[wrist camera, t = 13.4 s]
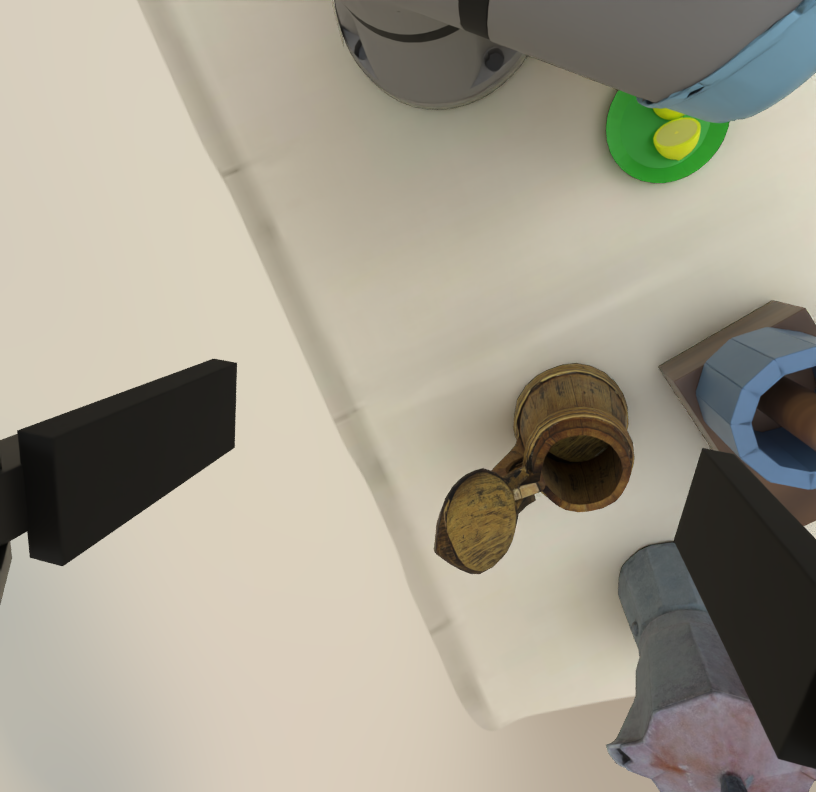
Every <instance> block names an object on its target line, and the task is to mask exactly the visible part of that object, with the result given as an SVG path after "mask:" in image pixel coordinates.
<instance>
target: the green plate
mask: <svg viewBox="0 0 816 792" xmlns="http://www.w3.org/2000/svg"><path fill="white" fill-rule="evenodd" d="M728 127H729V122H726V123H712V122H707V121H704V120H701V119H698V118H695V117H692V116H689V115H686V114H682V113H679V112H676V111H673V110H670V109H667V108H661V109H660V108H647V107H645V106H643V105H641V104H640V103H638V102H637V100H636V96H633V95H631V94H628V93H625V92H623V91H620V90H619V91H618V92H617V93H616V95H615V97H614V99H613V101H612V103H611V106H610V109H609V113H608V116H607V124H606V136H607V143H608V146H609V150H610V153H611V154H612V156H613V158H614V160H615V162H616V163H617V164H618V165H619V166H620V168H621V169H622V170H623V171H625V172H626V173H628V174H629V175H630V176H632V177H634V178H636V179H639V180H641V181H645V182H650V183H666V182H672V181H676V180H679V179H682V178H684V177H687V176H689V175H690V174H692V173H694V172H695V171H697V170H699V169H700V168H701V167H702V166H703V165H704V164H706V163H707V162H708V161H709V160H710V159H711V158H712V156H713V155H714V154H715V153H716V151H717V150H718V149H719V147H720V145H721V143H722V142H723V140H724V138H725V135H726V132H727V129H728Z"/></svg>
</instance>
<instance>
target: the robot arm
mask: <svg viewBox="0 0 816 792" xmlns="http://www.w3.org/2000/svg"><path fill="white" fill-rule="evenodd" d="M334 2H335V7H334V3H333V0H332V5H333V9H334V13H335V16H336V20H337V24H338V28H339V31H340V35H341V39H342V43H343V47H344V42H343V37H344V40H345V42H346V45H347V47H348V49H349V51H350V53H351V55H352V56H353V58H354V59H355V61H356V63H357V64H358V65H359V67H360V68H361V69H362V71H363V72H364V73H365V74H366V75H367V76H368V77H369V78H370V79H371V80H372V81H373V82H374V83H375V84H376V85H377V86H378V87H379V88H380V89H381V90H383V91H384V92H385V93H387V94H388V95H390V96H391V97H393V98H395V99H396V100H398V101H400V102H403V103H405V104H408V105H411V106H414V107H418V108H424V109H437V110H438V109H449V108H455V107H459V106H463V105H466V104H469V103H472V102H474V101H477V100H479V99H480V98H482V97H484V96H486V95H488V94H489V93H491V92H492V91H494V90H495V89H497V88H498V87H499V86H500V85H502V84H503V83H504V82H505V81H506V80H507V79H508V78H510V77H511V76H512V75H513V74H514V72H515V71H516V70H517V69H518V68H519V67H520V66H521V64H522V63H523V61H524V60H525V59H526V57H527V56H531V57H534V58H536V59H539V60H542V61H544V62H547V63H549V64H552V65H555V66H557V67H560V68H562V69H565V70H568V71H570V72H573V73H576V74H578V75H581V76H583V77H586V78H589V79H591V80H594V81H597V82H599V83H602V84H604V85H607V86H610V87H612V88H615V89H618V90H620V91H623V92H625V93H628V94H631V95H633V96H636V100H637V102H638V103H640V104H641V105H643V106H645V107H647V108H660V109H661V108H667V109H670V110H673V111H676V112H679V113H682V114H686V115H689V116H692V117H695V118H698V119H701V120H704V121H707V122H712V123H726V122H729V121H735V120H737V119H745V118H748V117H751V116H754V115H756V114H758V113H760V112H762V111H764V110H766V109H768V108H769V107H771V106H772V105H774V104H776V103H777V102H779V101H780V100H782V99H783V98H785V97H786V96H787V95H789V94H790V93H792V92H793V91H794V90H795V89H797V88H798V87H799V86H800V85H802V84H803V83H804V82H805V81H807V80H808V79H809V78H810V77H811V76H813V75H814V74H815V73H816V0H334ZM335 9H336V11H335ZM340 28H341V29H340ZM341 31H342V33H341ZM342 35H343V37H342ZM236 377H237V363H234V362H229V361H224V360H218V359H212V360H209V361H206V362H203V363H201V364H198V365H195V366H192V367H190V368H187V369H185V370H182V371H179V372H176V373H173V374H171V375H168V376H165V377H162V378H160V379H157V380H154V381H152V382H149V383H146V384H143V385H141V386H138V387H135V388H132V389H130V390H127V391H124V392H121V393H119V394H116V395H113V396H111V397H108V398H105V399H102V400H100V401H97V402H94V403H91V404H89V405H86V406H83V407H81V408H78V409H75V410H72V411H70V412H67V413H64V414H62V415H59V416H56V417H53V418H51V419H48V420H45V421H43V422H40V423H37V424H34V425H32V426H29V427H26V428H23V429H21V430H18V431H17V433H18V434H16V435H13V436H10V437H8V438H5V439H2V440H0V603H1V599H2V596H3V592H4V587H5V584H6V579H7V575H8V572H9V568H10V564H11V559H12V554H11V545H10V541H11V540H13V539H15V538H16V537H18V536H20V535H21V534H23V533H25V532H27V533H28V543H29V553H30V558H34V559H37V560H41V561H45V562H48V563H53V564H56V565H60V566H64V565H65V564H67V563H68V562H70V561H71V560H72V559H74V558H75V557H77V556H78V555H80V554H81V553H83V552H84V551H85V550H87V549H88V548H90V547H91V546H93V545H94V544H96V543H97V542H98V541H100V540H101V539H103V538H104V537H106V536H107V535H109V534H110V533H111V532H113V531H114V530H116V529H117V528H119V527H120V526H122V525H123V524H125V523H126V522H127V521H129V520H130V519H132V518H133V517H134V516H136V515H138V514H139V513H141V512H142V511H143V510H145V509H146V508H148V507H149V506H151V505H152V504H154V503H155V502H156V501H158V500H159V499H161V498H162V497H164V496H165V495H167V494H168V493H169V492H171V491H172V490H174V489H175V488H177V487H178V486H180V485H181V484H182V483H184V482H185V481H187V480H188V479H190V478H191V477H193V476H194V475H195V474H197V473H198V472H200V471H201V470H203V469H204V468H205V467H207V466H208V465H210V464H211V463H213V462H214V461H216V460H217V459H219V458H220V457H221V456H223V455H224V454H226V453H227V452H229V451H230V450H232V449H233V448H234V447H235V411H236ZM674 542H675V544H676V547H677V549H678V551H679V553H680V555H681V557H682V559H683V561H684V563H685V565H686V567H687V570H688V572H689V574H690V576H691V578H692V580H693V582H694V584H695V586H696V588H697V591H698V593H699V595H700V597H701V599H702V601H703V603H704V605H705V607H706V609H707V611H708V614H709V616H710V618H711V620H712V622H713V624H714V626H715V628H716V630H717V632H718V635H719V637H720V639H721V641H722V643H723V645H724V647H725V649H726V651H727V653H728V655H729V658H730V660H731V662H732V664H733V666H734V668H735V670H736V672H737V674H738V676H739V679H740V681H741V683H742V685H743V687H744V689H745V691H746V693H747V695H748V697H749V699H750V702H751V704H752V706H753V708H754V710H755V712H756V714H757V716H758V718H759V720H760V722H761V725H762V727H763V729H764V731H765V733H766V735H767V737H768V739H769V741H770V743H771V746H772V748H773V750H774V752H775V754H776V756H777V758H778V759H780V760H784V761H787V762H791V763H795V764H798V765H802V766H806V767H810V768H813V769H816V539H815V538H814V537H813V536H812V535H811V534H810V533H809V531H808V530H807V529H806V528H805V527H804V526H803V525H802V524H801V523H800V522H799V521H798V520H797V519H796V518H795V517H794V516H793V515H792V514H791V513H790V512H789V511H788V510H787V509H786V507H785V506H784V505H783V504H782V503H781V502H780V501H779V500H778V499H777V498H776V497H775V496H774V495H773V494H772V493H771V492H770V491H769V490H768V489H767V488H766V487H765V486H764V485H763V484H762V482H761V481H760V480H759V479H758V478H757V477H756V476H755V475H754V474H753V473H752V472H751V471H750V470H749V469H748V468H747V467H746V466H745V465H744V464H743V463H742V462H741V461H740V460H739V458H738V457H737V456H736V455H735V454H732V453H726V452H721V451H715V450H710V449H704V448H702V451H701V454H700V457H699V461H698V464H697V467H696V470H695V474H694V477H693V480H692V483H691V487H690V490H689V493H688V496H687V500H686V503H685V506H684V509H683V513H682V516H681V519H680V522H679V525H678V529H677V532H676V535H675V538H674Z"/></svg>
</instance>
